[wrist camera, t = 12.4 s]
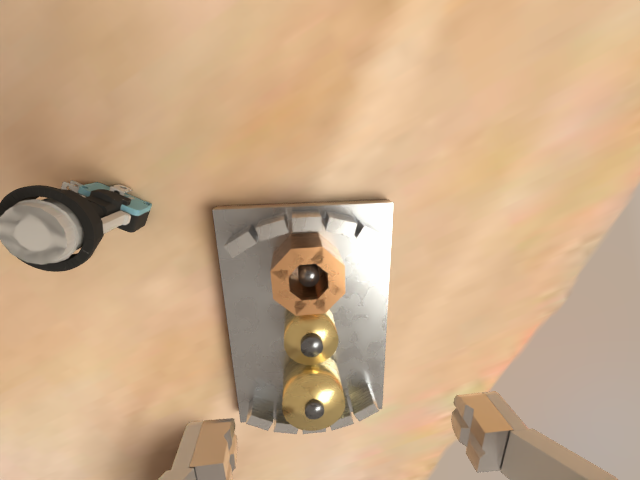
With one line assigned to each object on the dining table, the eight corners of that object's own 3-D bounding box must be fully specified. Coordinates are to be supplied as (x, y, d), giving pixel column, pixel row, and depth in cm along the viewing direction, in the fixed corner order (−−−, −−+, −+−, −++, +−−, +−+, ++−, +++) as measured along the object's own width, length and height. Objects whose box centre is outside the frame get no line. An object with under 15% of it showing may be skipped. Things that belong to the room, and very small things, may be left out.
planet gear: (276, 294, 29) (275, 317, 26) (271, 235, 28) (268, 250, 24) (338, 289, 30) (345, 311, 26) (337, 231, 28) (344, 245, 24)
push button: (67, 210, 27) (-56, 248, 17) (82, 153, 25) (-41, 161, 16) (145, 240, 28) (71, 290, 19) (163, 187, 27) (94, 213, 17)
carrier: (242, 411, 35) (233, 464, 29) (216, 206, 28) (196, 223, 22) (378, 398, 37) (395, 446, 31) (388, 199, 29) (412, 214, 23)
